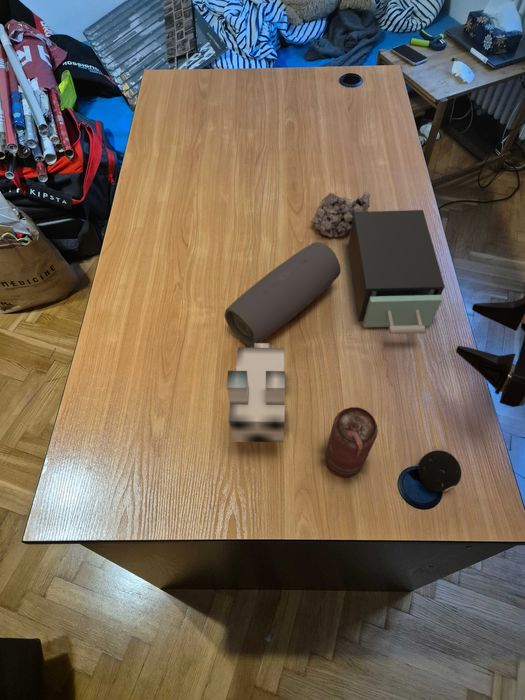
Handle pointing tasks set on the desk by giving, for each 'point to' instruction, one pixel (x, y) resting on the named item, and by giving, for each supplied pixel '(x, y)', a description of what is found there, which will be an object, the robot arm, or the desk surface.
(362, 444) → the can
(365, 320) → the mint green drawer
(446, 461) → the billiard ball
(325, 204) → the mineral specimen
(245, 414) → the toy llama
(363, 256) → the drawer box
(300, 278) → the bluetooth speaker
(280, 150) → the desk surface
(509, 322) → the robot arm
